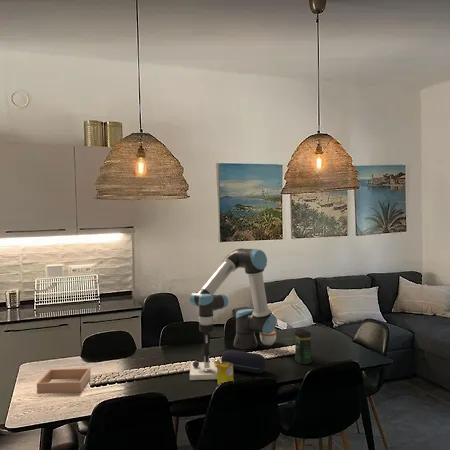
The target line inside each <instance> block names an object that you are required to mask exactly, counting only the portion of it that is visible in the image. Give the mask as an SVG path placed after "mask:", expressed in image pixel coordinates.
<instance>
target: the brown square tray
mask: <svg viewBox="0 0 450 450" xmlns="http://www.w3.org/2000/svg"><path fill="white" fill-rule="evenodd" d="M90 377H91V368H89V367H88V368H83V367H82V368H60V369H59V368H58V369H57V368H56V369H55V368H54V369H49V370H48V371H47V372H46V373H45V374H44V375H43V376H42V377H41V378H40V379H39V381H38V382H37V383H36V394H37V395H43V394H44V395H45V394H47V395H48V394H69V393H70V394H71V393H72V394H74V393H76V394H77V393H82V391H83V390H84V389H85V387H86V386H87V384H88V382H89V381H90V379H91V378H90ZM76 379H77V380H78V379H80V380H79V381H60V382H59V381H55V382H54V381H53V382H51V381H52V380H76Z"/></svg>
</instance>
